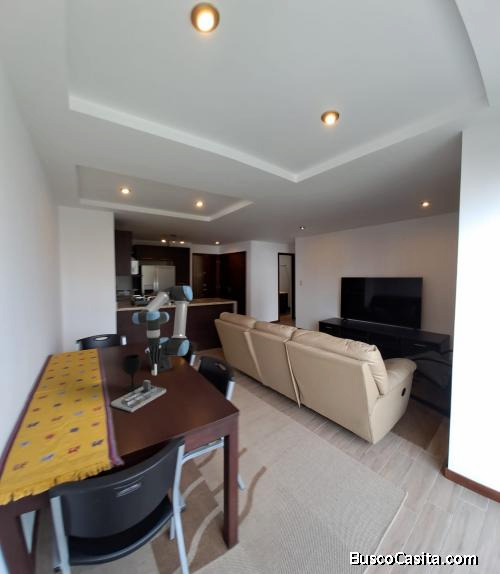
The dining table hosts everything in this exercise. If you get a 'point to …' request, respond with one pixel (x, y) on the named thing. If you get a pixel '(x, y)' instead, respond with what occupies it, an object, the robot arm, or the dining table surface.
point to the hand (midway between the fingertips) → (154, 374)
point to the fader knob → (146, 385)
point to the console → (137, 398)
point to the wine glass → (132, 370)
